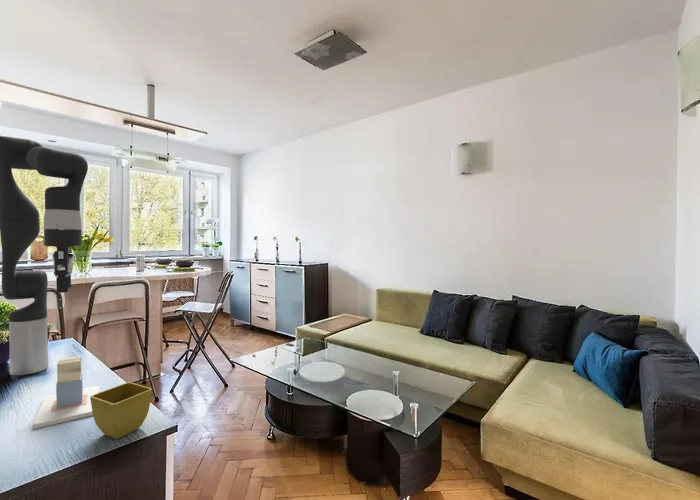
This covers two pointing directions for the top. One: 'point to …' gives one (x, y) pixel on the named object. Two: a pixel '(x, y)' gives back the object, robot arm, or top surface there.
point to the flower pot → (121, 409)
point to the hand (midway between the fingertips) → (64, 290)
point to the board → (64, 409)
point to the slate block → (69, 393)
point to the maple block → (69, 369)
